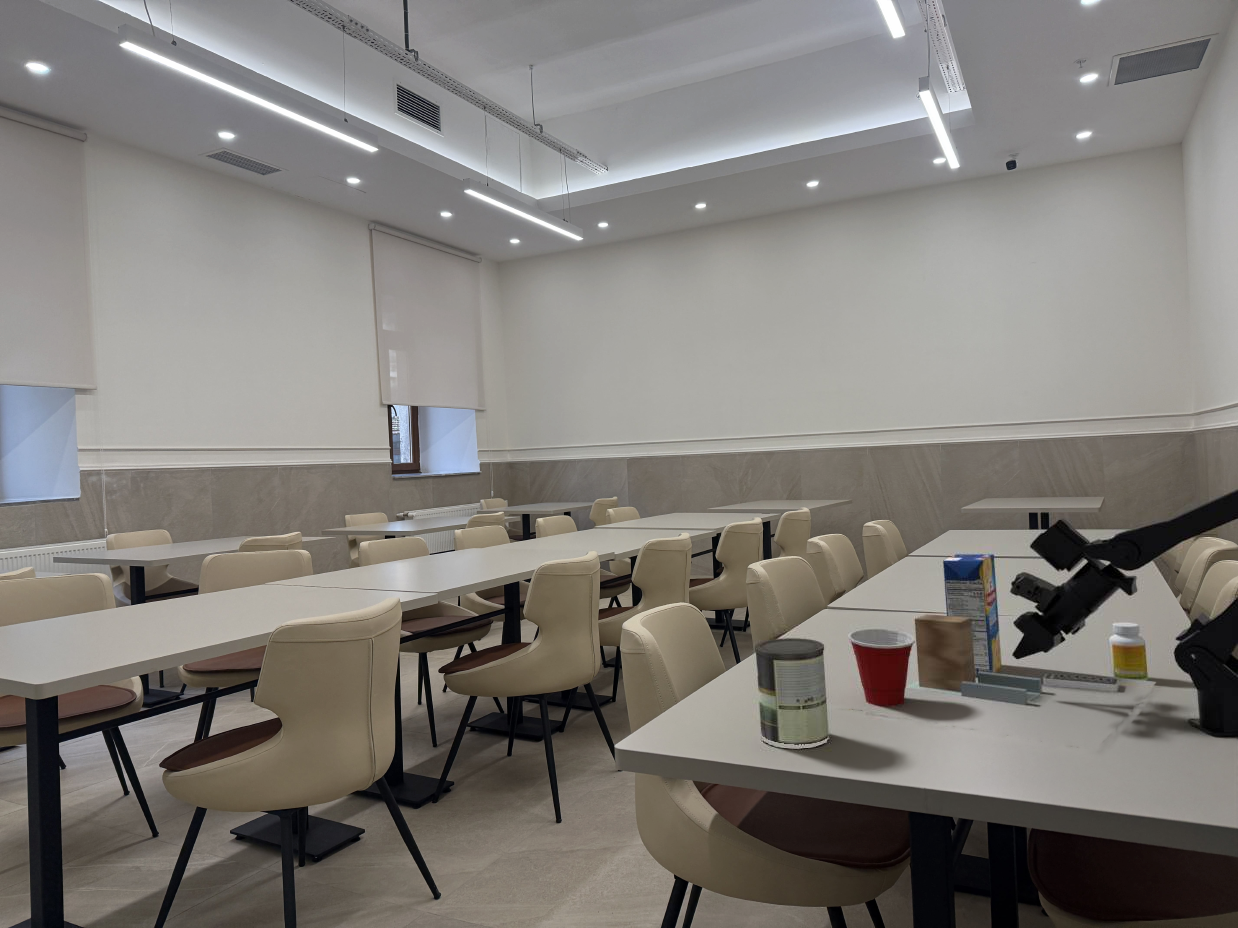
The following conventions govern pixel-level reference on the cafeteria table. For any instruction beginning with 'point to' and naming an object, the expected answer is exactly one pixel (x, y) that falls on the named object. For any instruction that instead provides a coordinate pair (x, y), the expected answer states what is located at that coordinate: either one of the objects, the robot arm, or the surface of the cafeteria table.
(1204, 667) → the robot arm
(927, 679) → the block
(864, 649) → the plastic cup
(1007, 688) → the chute
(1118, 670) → the supplement bottle
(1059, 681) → the multiport hub
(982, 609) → the beverage box
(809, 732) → the coffee can
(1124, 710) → the cafeteria table surface
